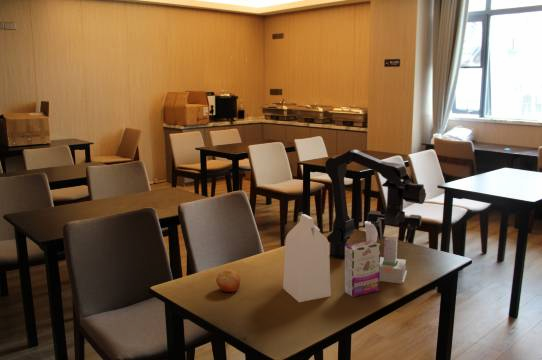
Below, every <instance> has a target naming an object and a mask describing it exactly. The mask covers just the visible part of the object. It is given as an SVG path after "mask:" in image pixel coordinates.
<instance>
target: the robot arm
mask: <svg viewBox="0 0 542 360" xmlns="http://www.w3.org/2000/svg"><path fill="white" fill-rule="evenodd" d="M324 163H325V165H324V166H325V170H326V174H327V175H328V177H329V179H330V181H331V188H332V196H333V205H334V216H335V217H334V221H333V223H332V232H331V233H329V234H328V235H327V236H326V238H327V240H328V242H329V258H335V259H342V260H343V259H344V260H345V246H347V245H349V243H348V240H350V239H351V237H352V235H353V234H354V232H355V230H356V226H355V219H354V218H350V216H349V212H348V202H347V195H346V194H347V193H346V184H345V179H346V178H345V177H346V174H347V170H348V168H347V166H349V164H352V163H355V164H358V165H360V166H363V167H364V168H367V169H369V170H372V171H375V172H376V173H378V174H379V175H380V176H381V177H382V178H384V179H385V182H383V183H382V184H381V186H382V187H385V188H387V191H386V192H387V195H386V208H385V211H384V214H382V213H381V211H379V210H378V211H377V210H370V211H369V212H368V213H367V216H366V218H367V219H366V221H368V222H371V224H374V226H375V227H376V230H377V233H378V235H377V237H378V239H379V241H381V240H382V238H383V237H382V236H383V235H382V221H384V224H385V225H391V226H392V225H393V226H398V225H399V223H402V222H403V223H408V225H407V228H406V235H405V241H404V243H406V244H407V242H408V240H409V237H410V235H411V233H412V231H413V229H417V227H419V228H420V227H421V224H422V219H423V217H422V215H419V214H410V215H409V216H406V213H405V211H404V201H405V202H407V203H413V204H418V205H423V204H424V203H425V201H426V197H427V193H426V189H425V187H424V186H425V185H424V184H423V183H413V180H412V178H411V177H410V175H409V174H408V170H407V168H406V166H405V165H403V164H401V163H396V162H388V161H384V160H382V159H379V158H376V157H375V156H371V155H370V154H367V153H364V152H362V151H360V150H358V149H356V148H355V149H350V150H347V152H345V153H342V154H340V155H337V156H333V157H330V158H327V160H326V161H325V162H324Z"/></svg>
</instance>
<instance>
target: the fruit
mask: <svg viewBox="0 0 542 360" xmlns="http://www.w3.org/2000/svg"><path fill="white" fill-rule="evenodd" d="M215 282H216V284H217V286H218V288H219V289H220V290H221V292H226V293H235V292H237V291H239V288H240V285H241V276H240V274H239V273H238V270H236V269H234V268H225V269H223V270H222V271H220V272H219V273H218V275H217V276H216V278H215Z"/></svg>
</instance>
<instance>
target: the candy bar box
mask: <svg viewBox="0 0 542 360" xmlns="http://www.w3.org/2000/svg"><path fill="white" fill-rule="evenodd" d="M380 257H381V244H380V243H379V242H377V241H376V242H374V241H367V240H365V241H361V242H358V243H352V244H348V245H347V246H345V259H344V293H345V294H347V295H348V296H350V297H352V298H356V297H359V296H364V295H367V294H372V293H374V292H375V293H376V292H379V291H380V281H379V278H380Z"/></svg>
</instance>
